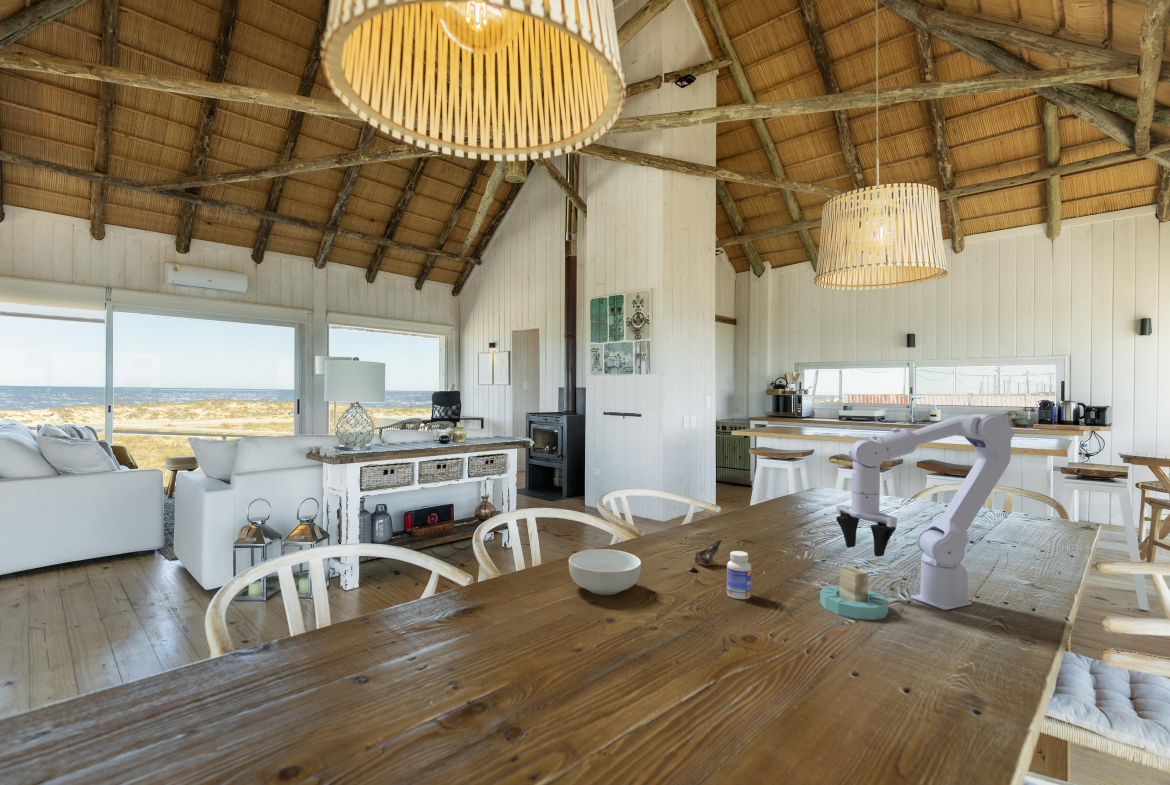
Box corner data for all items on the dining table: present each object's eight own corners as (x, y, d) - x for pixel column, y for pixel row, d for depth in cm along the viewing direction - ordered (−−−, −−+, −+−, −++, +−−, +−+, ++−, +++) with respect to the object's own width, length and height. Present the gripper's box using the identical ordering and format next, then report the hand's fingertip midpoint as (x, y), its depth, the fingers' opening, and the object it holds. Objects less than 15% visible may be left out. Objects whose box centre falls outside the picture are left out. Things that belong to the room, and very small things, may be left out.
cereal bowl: (556, 595, 126) (557, 564, 126) (583, 573, 142) (584, 545, 142) (628, 607, 120) (628, 574, 120) (648, 583, 136) (649, 554, 136)
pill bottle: (752, 601, 125) (752, 557, 125) (727, 598, 126) (727, 555, 126) (749, 592, 130) (750, 550, 130) (726, 590, 132) (726, 549, 132)
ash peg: (852, 603, 125) (852, 567, 125) (867, 609, 121) (868, 572, 121) (839, 605, 123) (839, 569, 123) (854, 612, 120) (855, 574, 120)
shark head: (714, 564, 155) (714, 539, 156) (729, 567, 149) (728, 540, 151) (690, 564, 152) (690, 538, 153) (704, 567, 146) (704, 540, 147)
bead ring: (849, 593, 131) (850, 582, 131) (901, 614, 119) (901, 602, 119) (808, 601, 126) (808, 589, 126) (857, 623, 114) (857, 611, 114)
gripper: (827, 488, 134) (826, 544, 134) (881, 499, 121) (880, 562, 121) (848, 486, 137) (847, 541, 137) (903, 497, 124) (902, 558, 124)
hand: (864, 551), depth 129 cm, fingers open, 7 cm apart
